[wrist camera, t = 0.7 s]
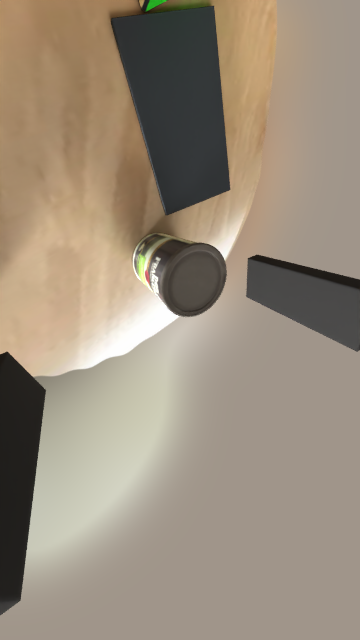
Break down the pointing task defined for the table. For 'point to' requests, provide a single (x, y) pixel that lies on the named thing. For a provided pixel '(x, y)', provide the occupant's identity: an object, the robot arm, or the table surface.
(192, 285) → the coffee can
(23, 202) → the table surface
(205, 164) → the placemat
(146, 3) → the puzzle cube
